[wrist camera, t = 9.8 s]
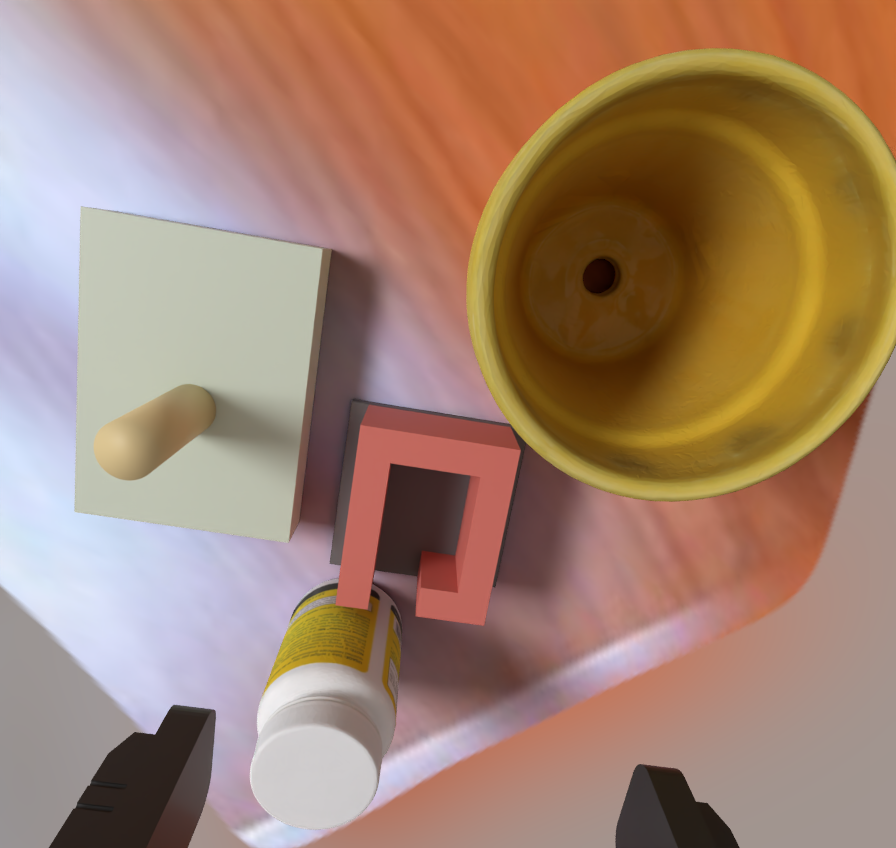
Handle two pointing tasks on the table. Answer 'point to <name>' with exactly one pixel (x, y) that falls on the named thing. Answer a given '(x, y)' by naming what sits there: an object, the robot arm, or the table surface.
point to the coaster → (411, 504)
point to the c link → (488, 497)
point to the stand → (195, 374)
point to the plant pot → (688, 275)
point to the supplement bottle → (328, 710)
